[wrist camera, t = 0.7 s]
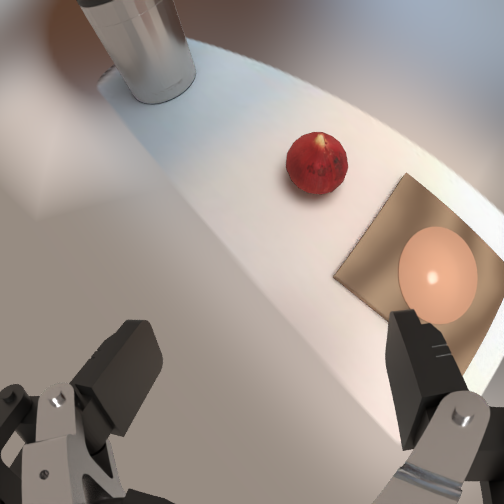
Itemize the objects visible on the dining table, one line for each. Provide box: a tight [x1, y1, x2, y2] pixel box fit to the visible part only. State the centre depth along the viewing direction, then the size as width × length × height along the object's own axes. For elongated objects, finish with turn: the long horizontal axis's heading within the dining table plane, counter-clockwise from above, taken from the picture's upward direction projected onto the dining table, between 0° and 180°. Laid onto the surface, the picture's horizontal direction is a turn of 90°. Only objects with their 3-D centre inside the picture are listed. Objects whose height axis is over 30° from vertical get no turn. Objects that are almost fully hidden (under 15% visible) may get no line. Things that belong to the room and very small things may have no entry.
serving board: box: [333, 173, 504, 376], centre depth 28 cm, size 18×14×1 cm
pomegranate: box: [286, 132, 348, 194], centre depth 28 cm, size 6×6×8 cm
